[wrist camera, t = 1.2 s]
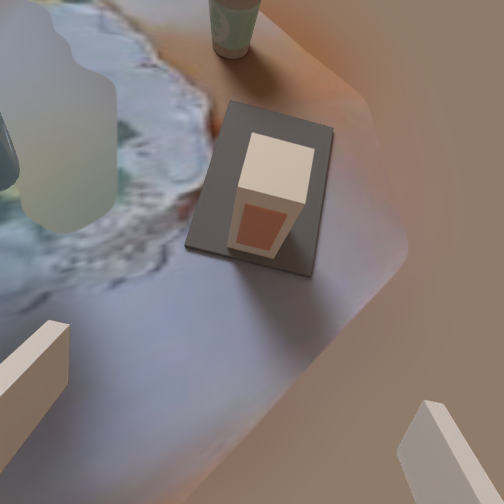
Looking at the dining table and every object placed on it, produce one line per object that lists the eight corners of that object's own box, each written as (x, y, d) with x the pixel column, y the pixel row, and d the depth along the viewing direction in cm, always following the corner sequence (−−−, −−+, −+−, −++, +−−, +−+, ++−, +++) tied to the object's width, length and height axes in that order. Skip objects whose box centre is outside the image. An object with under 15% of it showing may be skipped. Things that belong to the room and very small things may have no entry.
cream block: (273, 260, 42) (304, 205, 29) (226, 248, 42) (237, 188, 29) (282, 217, 45) (314, 149, 32) (237, 205, 44) (252, 132, 31)
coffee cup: (203, 25, 56) (203, -63, 45) (254, 29, 57) (266, -55, 46) (204, 64, 53) (205, -20, 42) (258, 67, 54) (273, -14, 43)
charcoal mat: (309, 277, 43) (311, 275, 42) (184, 246, 42) (184, 244, 41) (332, 130, 52) (333, 127, 51) (229, 102, 51) (230, 99, 50)
